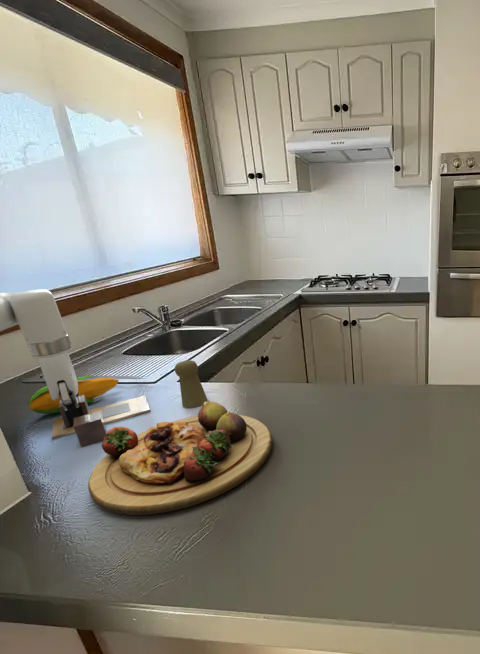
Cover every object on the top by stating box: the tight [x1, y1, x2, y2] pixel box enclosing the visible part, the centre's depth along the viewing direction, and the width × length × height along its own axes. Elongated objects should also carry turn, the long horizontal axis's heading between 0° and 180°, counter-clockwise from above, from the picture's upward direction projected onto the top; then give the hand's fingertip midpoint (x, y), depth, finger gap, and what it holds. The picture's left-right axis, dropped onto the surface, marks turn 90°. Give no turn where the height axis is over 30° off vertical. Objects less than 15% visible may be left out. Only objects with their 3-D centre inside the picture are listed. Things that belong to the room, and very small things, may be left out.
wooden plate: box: [87, 400, 273, 516], centre depth 79 cm, size 32×32×8 cm
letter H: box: [59, 395, 91, 427], centre depth 99 cm, size 5×5×5 cm
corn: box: [27, 374, 119, 415], centre depth 110 cm, size 7×8×20 cm
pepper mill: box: [174, 359, 209, 409], centre depth 104 cm, size 6×6×11 cm
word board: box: [51, 394, 151, 440], centre depth 103 cm, size 20×11×1 cm, turn 123°
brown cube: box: [73, 411, 108, 448], centre depth 92 cm, size 5×5×5 cm
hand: (78, 418), depth 100 cm, fingers closed on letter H, 5 cm apart
